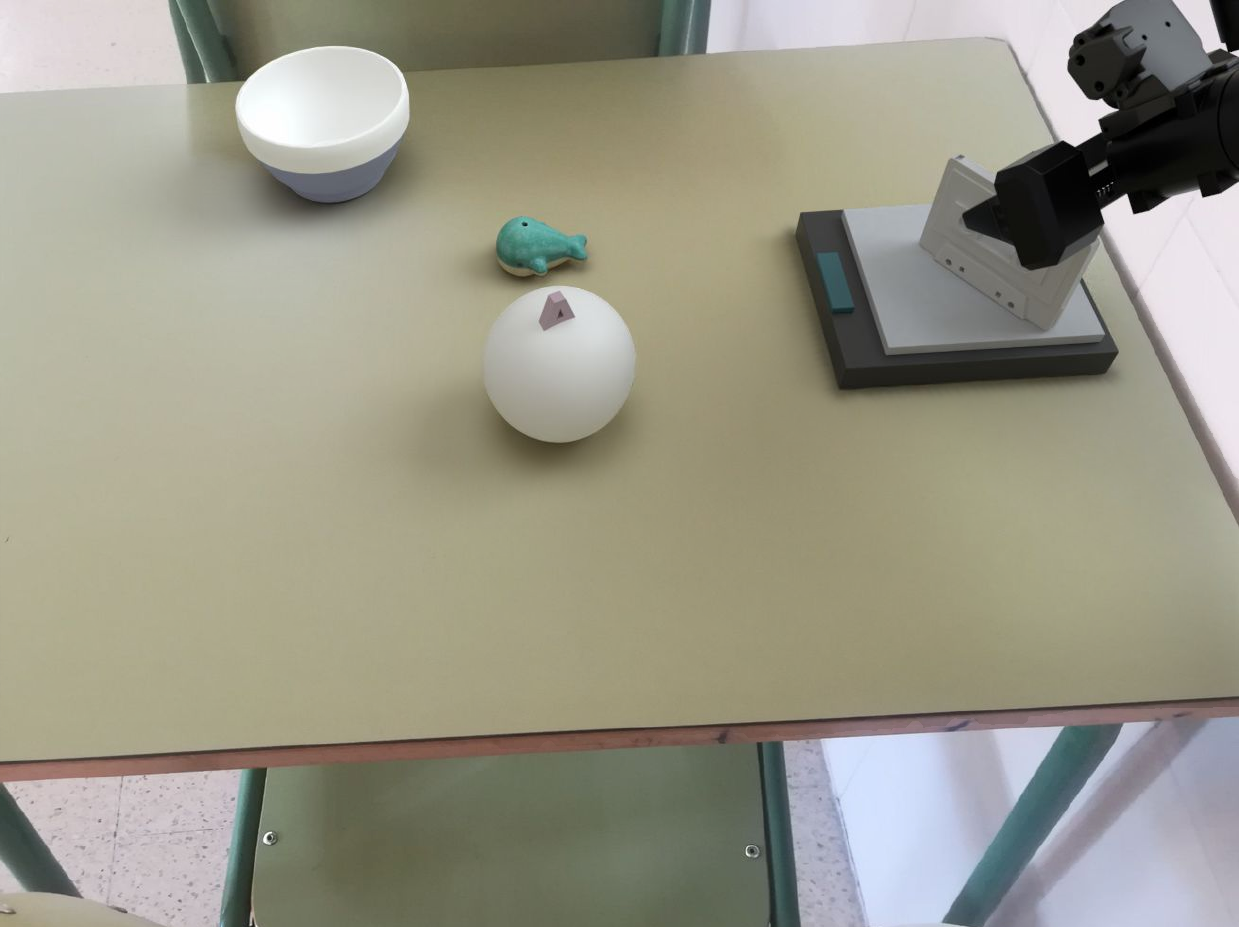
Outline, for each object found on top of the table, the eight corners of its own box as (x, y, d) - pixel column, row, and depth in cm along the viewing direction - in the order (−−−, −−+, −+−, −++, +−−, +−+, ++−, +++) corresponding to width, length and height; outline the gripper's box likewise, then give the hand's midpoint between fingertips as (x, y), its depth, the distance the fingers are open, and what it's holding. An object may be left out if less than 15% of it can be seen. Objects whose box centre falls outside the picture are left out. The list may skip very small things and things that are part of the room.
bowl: (427, 213, 89) (417, 134, 83) (258, 238, 89) (235, 160, 82) (408, 113, 97) (397, 34, 91) (252, 136, 97) (231, 58, 90)
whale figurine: (499, 237, 87) (496, 199, 84) (587, 237, 86) (588, 198, 83) (495, 286, 84) (492, 248, 81) (587, 286, 83) (588, 247, 80)
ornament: (566, 494, 72) (568, 372, 62) (459, 421, 76) (444, 296, 66) (658, 408, 76) (673, 280, 66) (551, 343, 80) (550, 213, 70)
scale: (1032, 218, 84) (1046, 187, 82) (1106, 373, 75) (1125, 343, 73) (794, 234, 85) (802, 203, 83) (839, 389, 76) (848, 360, 73)
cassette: (1060, 325, 74) (1108, 237, 68) (1042, 336, 73) (1089, 249, 67) (929, 236, 80) (962, 147, 73) (912, 246, 79) (943, 158, 73)
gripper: (1322, -91, 57) (1069, 23, 71) (1092, 35, 52) (871, 131, 66) (1370, 109, 59) (1117, 179, 74) (1156, 247, 54) (930, 294, 69)
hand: (1012, 192), depth 71 cm, fingers open, 9 cm apart
